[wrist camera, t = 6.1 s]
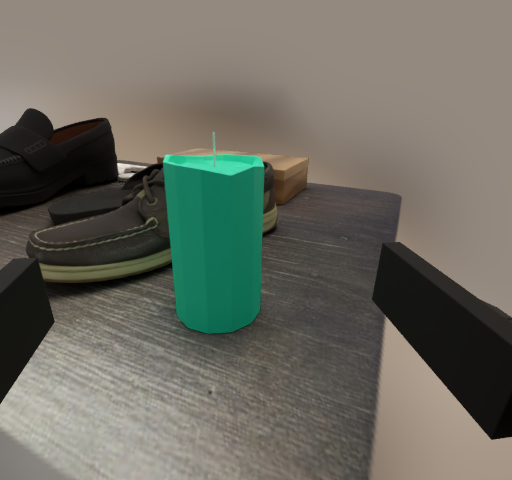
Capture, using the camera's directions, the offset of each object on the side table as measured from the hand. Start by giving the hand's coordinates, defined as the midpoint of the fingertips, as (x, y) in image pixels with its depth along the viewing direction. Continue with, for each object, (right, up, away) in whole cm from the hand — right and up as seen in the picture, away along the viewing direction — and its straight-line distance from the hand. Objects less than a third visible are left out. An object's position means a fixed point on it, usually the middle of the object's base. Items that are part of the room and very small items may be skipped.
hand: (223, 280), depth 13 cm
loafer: (-31, +9, +37) cm, 49 cm away
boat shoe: (-7, +1, +20) cm, 22 cm away
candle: (-1, -3, +11) cm, 11 cm away
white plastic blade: (-26, +15, +53) cm, 61 cm away
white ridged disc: (-22, +13, +47) cm, 53 cm away
